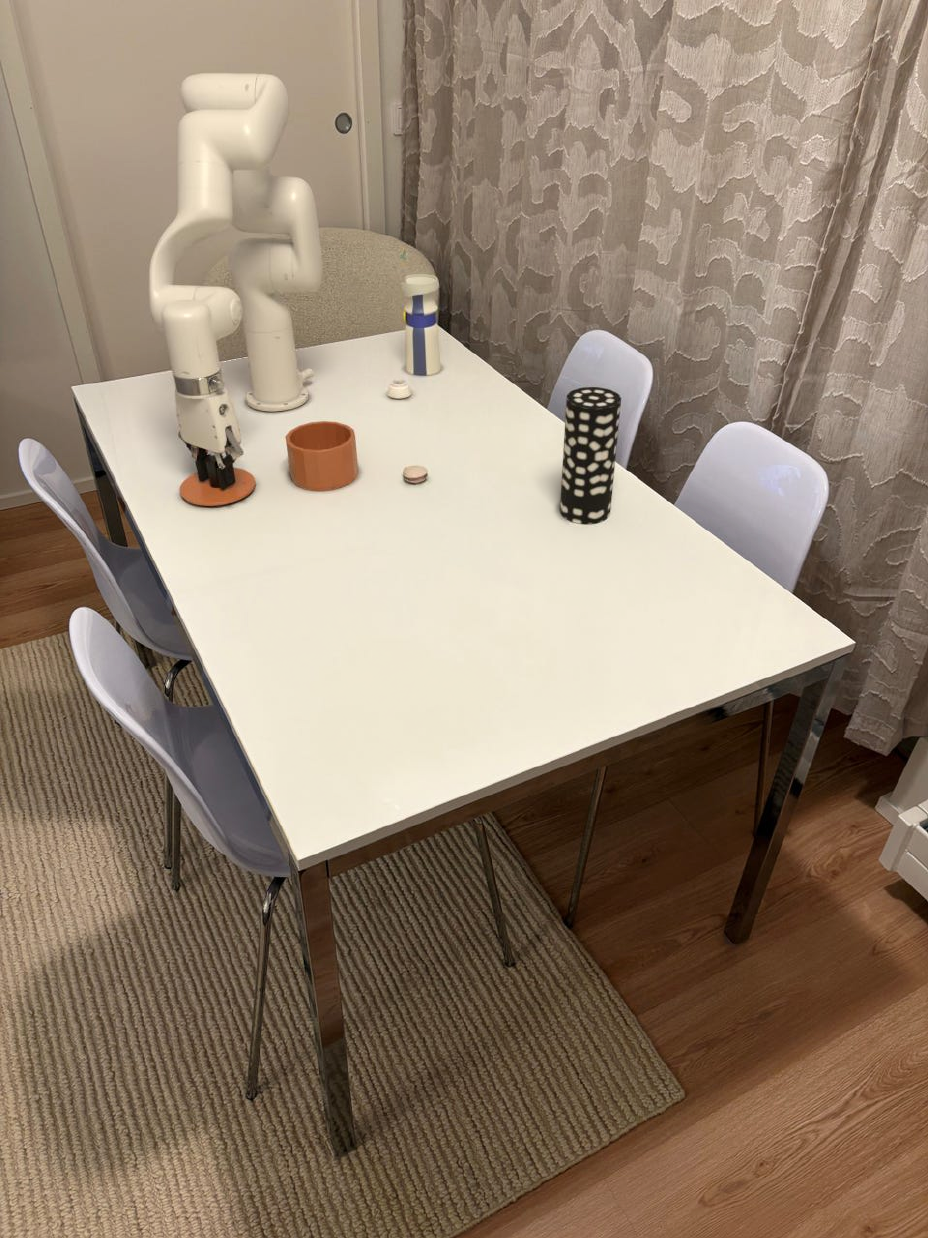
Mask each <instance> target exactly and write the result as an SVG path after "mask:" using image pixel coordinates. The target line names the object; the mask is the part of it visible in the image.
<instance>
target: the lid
mask: <svg viewBox="0 0 928 1238" xmlns="http://www.w3.org/2000/svg"><path fill="white" fill-rule="evenodd" d="M205 463H206V468H207V473H208V478H209V479H207V480H206V481H204V482H201V481H199V478H198V473H197V472H195V473H193V474H191V475H190V476H188V477H186V478H185V479H184V480H183V481H182V482H181V484H180V486H179V494H180V496H181V498H182V499H184V500H185V501H186V502H188V503H190V504H193V505H197V506H205V507H210V506H211V507H212V506H223V505H227V504H231V503H235V502H238V501H240V500H242V499H244V498H246V497H248V496H249V495H250V494H251V493H252V492H253V491H254V490H255V487H256V485H257V482H256V477H255V476H254V475H253V474H252V473H251V472H249V471H247V470H245V469H242V468H238V467H233V469H234V475H235V480H236V482H235V483H234V484H233V485H231V486H229V487H228V488H226V489H224V490H223V489H221V488H220V486H219V480H218V475H217V468H218V467H219V466H218V463H217V460H216V457H215V454H211V456H208V457H206V458H205Z"/></svg>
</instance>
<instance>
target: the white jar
mask: <svg viewBox="0 0 928 1238" xmlns="http://www.w3.org/2000/svg"><path fill="white" fill-rule="evenodd" d="M386 394H387V396H388V397H389V398H392V399H396V400H400V399H406V398H408V397H411V396H412V394H413V391H412V389H411V387H410V385H409V383H408V382H407V380H406V379H404V378H395V379H392V380H391V383H390V384H389V386H388V388H387V391H386Z"/></svg>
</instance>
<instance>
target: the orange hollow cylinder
mask: <svg viewBox="0 0 928 1238" xmlns="http://www.w3.org/2000/svg"><path fill="white" fill-rule="evenodd" d="M356 441H357V440H356V434H355V430H354V429H353V428H352V427H351V426H349V425H348V424H344V423H341V422H337V421H327V420H322V421H312V422H307V423H304V424H300V425H297V426H296V427H294V428H292V429H290V430H289V431H288V433H287V434H286V435H285V443H286V451H287V459H288V464H289V472H290V479H291V481H292V483H293V484H294V485H296V487H299V488H301V489H304V490H309V491H313V492H314V491H315V492H316V491H317V492H320V491H321V492H324V491H325V492H326V491H332V490H337V489H341V488H344V487H346V486H348V485H350V484H351V483H352V482H353V483H354V481H355V480H356V479H357V477H358V474H359V466H358V465H359V464H358V454H357V453H358V452H357V442H356Z"/></svg>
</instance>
